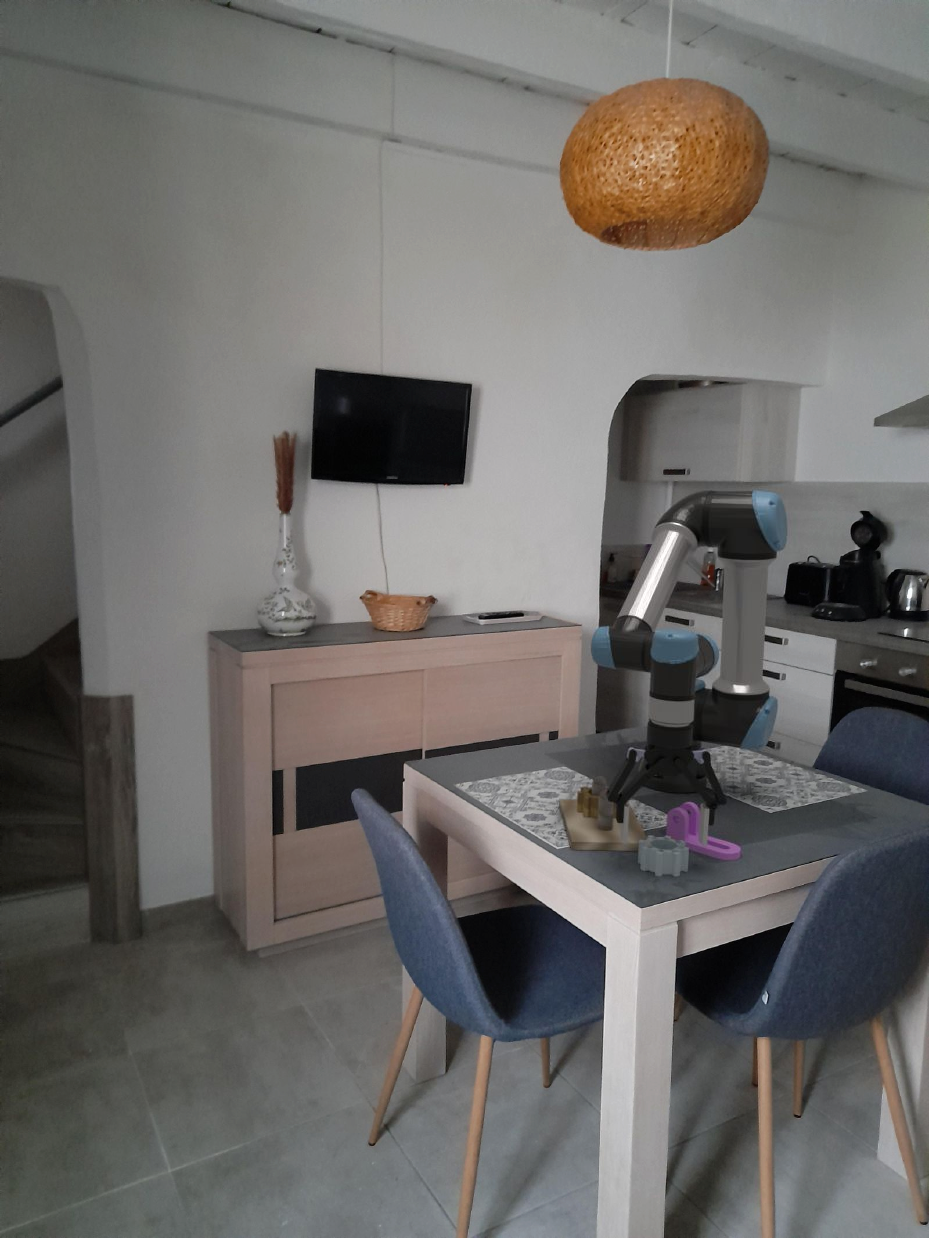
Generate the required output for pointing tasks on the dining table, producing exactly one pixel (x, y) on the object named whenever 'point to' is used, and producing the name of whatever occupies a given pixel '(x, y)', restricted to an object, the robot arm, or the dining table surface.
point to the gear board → (597, 821)
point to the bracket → (697, 833)
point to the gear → (663, 855)
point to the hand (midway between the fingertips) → (663, 841)
